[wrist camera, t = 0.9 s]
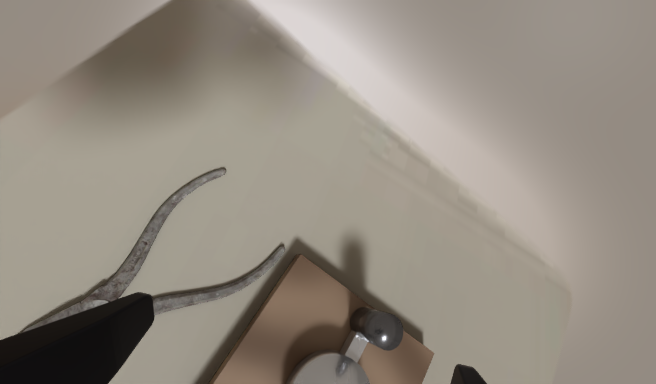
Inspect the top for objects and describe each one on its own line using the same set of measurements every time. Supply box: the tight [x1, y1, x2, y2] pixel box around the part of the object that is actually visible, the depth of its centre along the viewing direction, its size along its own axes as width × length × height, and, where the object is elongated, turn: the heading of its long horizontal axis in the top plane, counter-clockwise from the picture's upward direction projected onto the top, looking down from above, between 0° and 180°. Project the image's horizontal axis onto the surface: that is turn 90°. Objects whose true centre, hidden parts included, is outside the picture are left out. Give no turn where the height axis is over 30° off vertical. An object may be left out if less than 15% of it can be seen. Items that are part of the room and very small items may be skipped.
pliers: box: [23, 169, 285, 332], centre depth 22 cm, size 10×1×20 cm
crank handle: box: [286, 307, 403, 384], centre depth 22 cm, size 10×6×4 cm, turn 145°
